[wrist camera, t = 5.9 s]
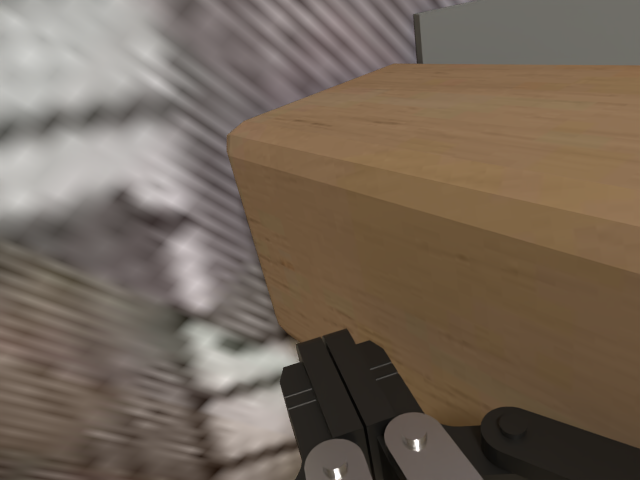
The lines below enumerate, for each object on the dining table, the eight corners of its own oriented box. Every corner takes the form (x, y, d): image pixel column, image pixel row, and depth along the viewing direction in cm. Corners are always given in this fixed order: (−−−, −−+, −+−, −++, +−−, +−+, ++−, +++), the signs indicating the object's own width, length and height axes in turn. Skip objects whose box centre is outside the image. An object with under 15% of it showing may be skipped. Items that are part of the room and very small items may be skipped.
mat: (434, 271, 30) (439, 276, 30) (413, 14, 24) (419, 14, 23) (712, 184, 34) (721, 186, 33) (760, -62, 27) (772, -63, 27)
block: (416, 241, 29) (973, 435, 14) (272, 333, 24) (882, 779, 9) (393, 57, 24) (1189, 53, 9) (208, 127, 19) (1234, 347, 5)
